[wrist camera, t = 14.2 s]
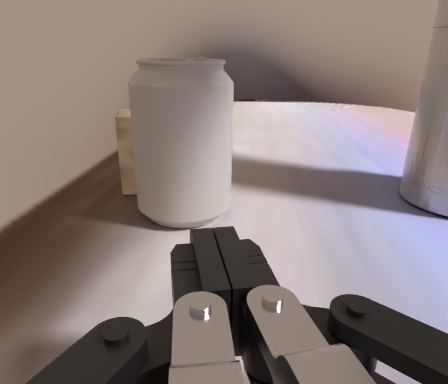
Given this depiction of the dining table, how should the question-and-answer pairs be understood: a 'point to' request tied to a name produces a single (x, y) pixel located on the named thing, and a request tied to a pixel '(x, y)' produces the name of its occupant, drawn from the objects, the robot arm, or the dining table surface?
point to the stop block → (126, 151)
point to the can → (182, 139)
